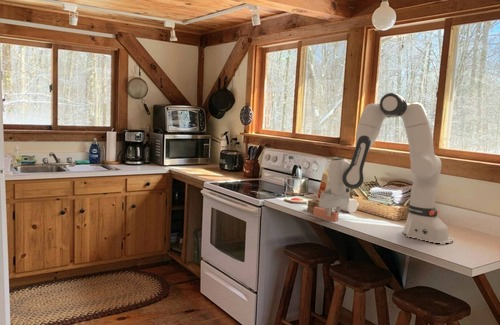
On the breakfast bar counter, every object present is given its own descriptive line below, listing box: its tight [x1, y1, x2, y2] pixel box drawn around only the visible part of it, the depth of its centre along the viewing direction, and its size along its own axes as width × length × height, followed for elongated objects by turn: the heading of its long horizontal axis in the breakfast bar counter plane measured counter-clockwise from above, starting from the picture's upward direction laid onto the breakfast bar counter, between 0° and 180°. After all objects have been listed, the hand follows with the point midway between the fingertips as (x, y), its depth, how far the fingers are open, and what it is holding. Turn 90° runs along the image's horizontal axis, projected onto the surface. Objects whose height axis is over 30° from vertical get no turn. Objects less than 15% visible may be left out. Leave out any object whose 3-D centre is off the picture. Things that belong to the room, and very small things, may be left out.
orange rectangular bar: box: [312, 207, 340, 222], centre depth 234 cm, size 15×2×4 cm, turn 40°
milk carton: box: [316, 167, 329, 199], centre depth 281 cm, size 9×9×20 cm
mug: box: [340, 197, 360, 214], centre depth 255 cm, size 12×10×8 cm
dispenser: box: [306, 198, 333, 214], centre depth 246 cm, size 10×9×6 cm
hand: (332, 215), depth 230 cm, fingers open, 4 cm apart
